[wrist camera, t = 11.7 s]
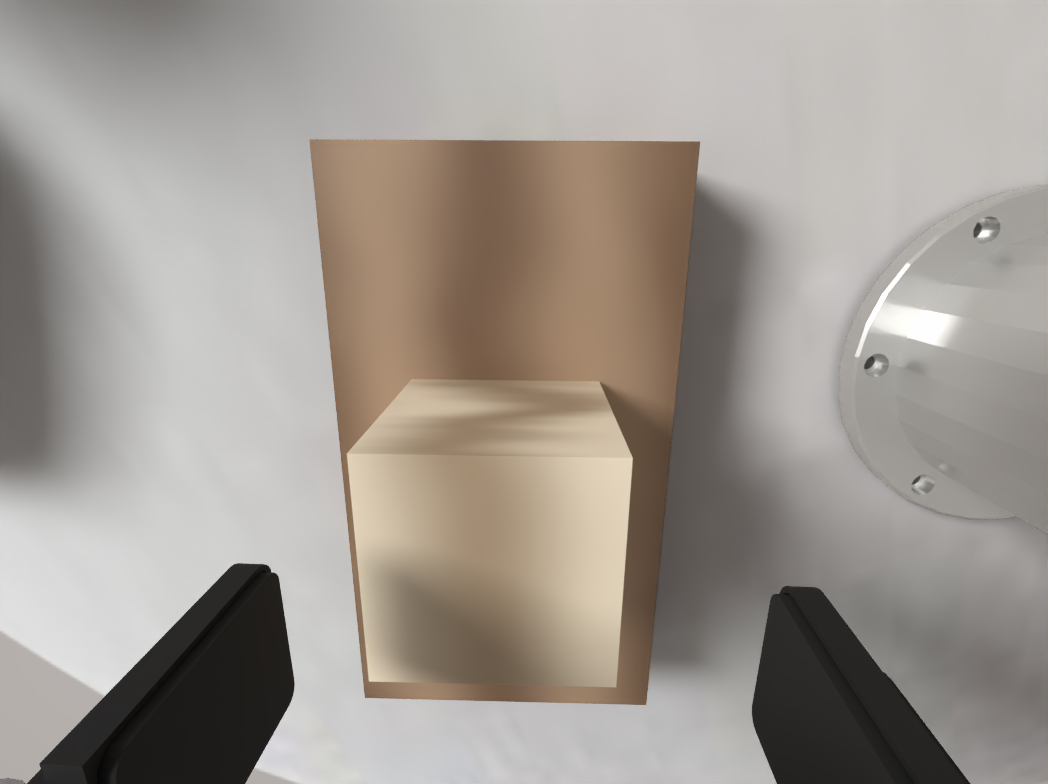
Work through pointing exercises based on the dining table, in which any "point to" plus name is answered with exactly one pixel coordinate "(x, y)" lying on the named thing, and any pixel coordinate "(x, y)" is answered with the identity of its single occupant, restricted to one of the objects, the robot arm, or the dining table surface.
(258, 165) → the dining table surface
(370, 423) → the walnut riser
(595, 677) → the birch cube
